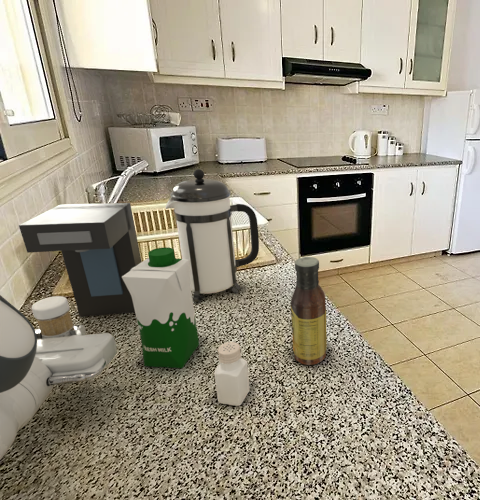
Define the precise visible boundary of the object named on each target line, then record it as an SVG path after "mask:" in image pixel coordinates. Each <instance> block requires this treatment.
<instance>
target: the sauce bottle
mask: <svg viewBox="0 0 480 500" xmlns="http://www.w3.org/2000/svg"><path fill="white" fill-rule="evenodd" d="M319 269H320V260H319V259H318V258H316V257H313V256H303V257H298V258H297V259H296V260H295V261H294V270H295V272H296V274H295V275H296V282H295V283H296V285H295V287H294V291H293V294H292V296H291V299H290V316H291V317H290V319H291V320H290V321H291V338H292V340H291V341H292V352H293V354H294V355H293V356H294V359H295V360H296V362H298V363H299V364H300V365H304V366H305V365H306V366H314V365H318V364H319V363H321V362H323V360H325V358H326V356H327V348H328V344H327V343H328V341H327V340H328V339H327V337H328V336H327V335H328V334H327V333H328V332H327V306H326V295H325V291H324V289H323V288H322V286H321V285H319V284H320V280H319Z"/></svg>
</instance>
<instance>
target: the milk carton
mask: <svg viewBox="0 0 480 500" xmlns="http://www.w3.org/2000/svg"><path fill="white" fill-rule="evenodd" d="M147 255H148V256H147V257H148V258H145V259H144V260H143V261H142V262H141V263H140V264H138V265H137V266H135V267H133V268H132V269H131V270H130V271H129V272H128V273H126V274H125V275H124V276H122V279H123V280H124V282H125V284H126V286H127V288H128V290H129V292H130V294H131V296H132V300H133V305H134V309H135V312H134V314H135V317H136V323H137V328H138V331H139V337H140V343H141V350H142V358H143V367H149V368H150V367H153V368H168V369H169V368H172V369H183V368H184V367H185V365H186V364H187V362H189V360H190V358H191V357H192V356H193V354H194V353H195V351H196V350H197V348H198V347H199V346H200V340H199V334H198V333H199V332H198V327H197V320H196V314H195V313H196V312H195V307H194V306H195V305H194V302H193V294H192V292H193V291H191V285H190V271H189V260H188V259H182V258H176V255H175V250H174V248H172V247H167V246H166V247H165V246H164V247H158V248H154V249H151V250H150V251H148V252H147Z"/></svg>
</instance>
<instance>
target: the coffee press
mask: <svg viewBox="0 0 480 500" xmlns="http://www.w3.org/2000/svg"><path fill="white" fill-rule="evenodd" d="M193 177H194V179H193V178H192V179H188V180H183V181H180V182H178V183H177V184H175V185H174V186H173V188H172V191H171V192H170V194H169V196H170V198H168V200H167V201H166V205H165V207H164V208H165V209H166V210H168V209H173V215H174V220H175V223H176V228H177V235H178V241H179V248H180V255H181V259H188V260H189V271H190V285H191V292H193V296H192V299H193V303H198V304H199V303H201V302H202V300H203V298H204V296H205V294H209V295H210V294H216V293H219V292H224V291H226V290H228V289H230V291H232V292H233V293H234V294H235V295H237V294H239V293H240V292H241V291H242V287H241V286H240V285H239V283H238V281H237V279H238V277H237V272H238V268H239V267H243V266H246V265H249V264H251V263H253V262H254V261H255V260H256V259H257V258H258V255H259V253H260V252H259V250H260V237H259V225H258V224H259V223H258V219H257V218H258V217H257V215H256V213H255V211H254V210H253V208H252V207H250V206H248V205H247V204H243V203H236V204H231V203H230V202H231V201H230V198H231V196H232V195H231V194H232V193H231V190H230V189H229V188H228V186H227V184H225V183H224V182H222V181H221V180H219V179H213V178H205V172H204V171H203V170H202V169H200V168H198V169H195V170H194V171H193ZM233 212H243V213H245V214H246V215H247V217H248V220H249V221H248V222H249V232H250V243H251V244H250V245H251V249H250V253H249V254H248V255H247V256H245V257H243V258H238V259H236V254H235V243H234V234H233V224H232V223H233V221H232V215H233Z"/></svg>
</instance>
